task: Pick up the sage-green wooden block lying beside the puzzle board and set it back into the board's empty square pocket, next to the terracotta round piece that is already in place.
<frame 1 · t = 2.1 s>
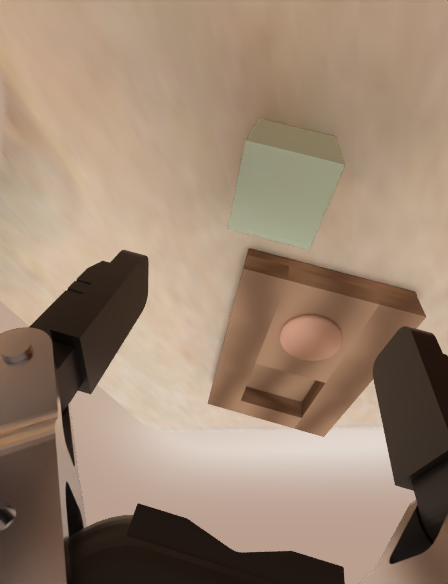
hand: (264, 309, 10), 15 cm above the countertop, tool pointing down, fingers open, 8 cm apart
puzzle board: (292, 346, 32), on the countertop
green block: (285, 166, 21), on the countertop
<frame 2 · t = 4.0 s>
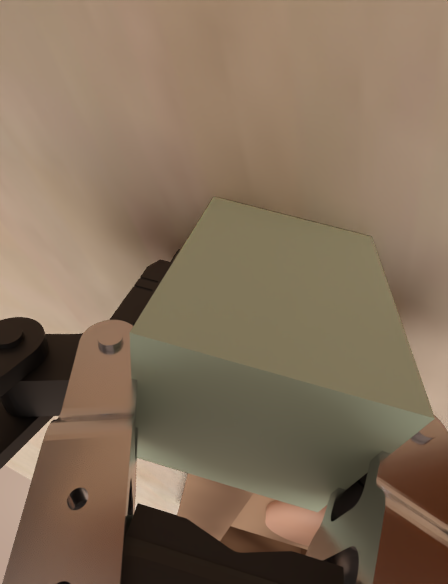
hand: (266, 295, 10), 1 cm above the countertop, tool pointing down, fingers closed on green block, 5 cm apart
puzzle board: (287, 488, 22), on the countertop
green block: (270, 279, 11), on the countertop, touching gripper
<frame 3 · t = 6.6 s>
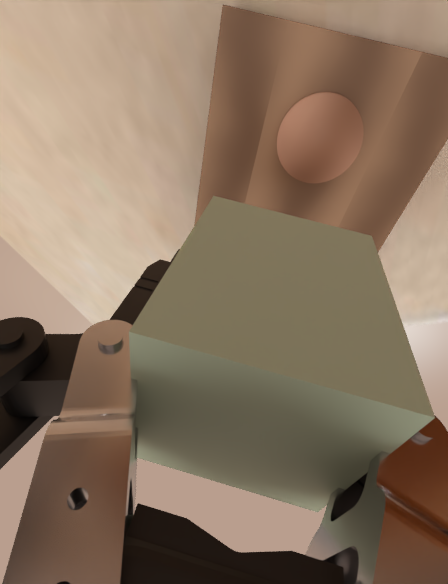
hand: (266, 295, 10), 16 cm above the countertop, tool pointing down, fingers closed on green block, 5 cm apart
puzzle board: (293, 196, 25), on the countertop
green block: (270, 278, 11), point 15 cm above the countertop, touching gripper
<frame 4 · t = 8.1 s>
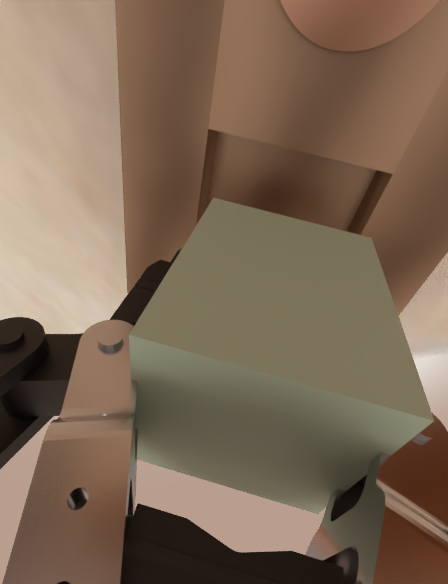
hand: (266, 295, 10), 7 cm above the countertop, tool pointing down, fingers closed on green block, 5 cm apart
puzzle board: (304, 120, 13), on the countertop
green block: (270, 280, 11), point 6 cm above the countertop, touching gripper
when the fingers open (3 cm above the countertop, at t = 9.3 s): green block drops 1 cm, resting on puzzle board.
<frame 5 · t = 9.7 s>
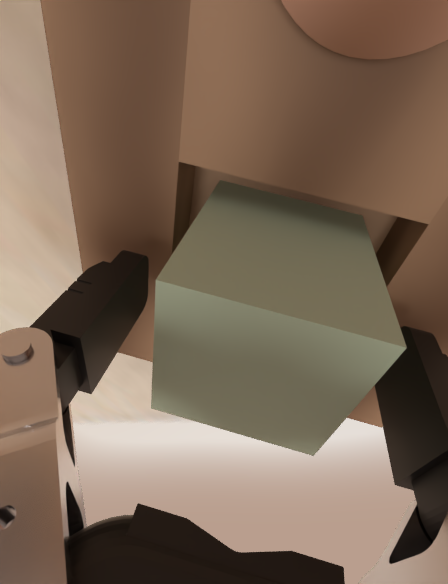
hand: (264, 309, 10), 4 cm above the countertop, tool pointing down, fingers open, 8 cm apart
puzzle board: (307, 146, 10), on the countertop
green block: (271, 257, 12), point 1 cm above the countertop, touching puzzle board
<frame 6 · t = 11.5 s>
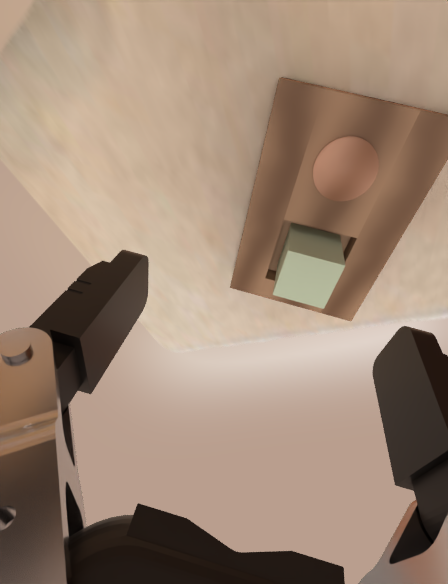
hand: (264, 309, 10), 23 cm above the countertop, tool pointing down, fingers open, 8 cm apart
puzzle board: (321, 211, 31), on the countertop
green block: (307, 249, 33), point 1 cm above the countertop, touching puzzle board
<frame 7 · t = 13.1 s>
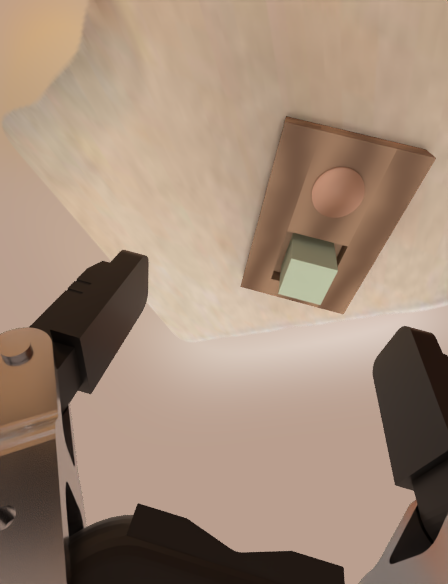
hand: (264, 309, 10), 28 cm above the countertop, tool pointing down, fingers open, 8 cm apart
puzzle board: (318, 223, 37), on the countertop
green block: (306, 254, 39), point 1 cm above the countertop, touching puzzle board
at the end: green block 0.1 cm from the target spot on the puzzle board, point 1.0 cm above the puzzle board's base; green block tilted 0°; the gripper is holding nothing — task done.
